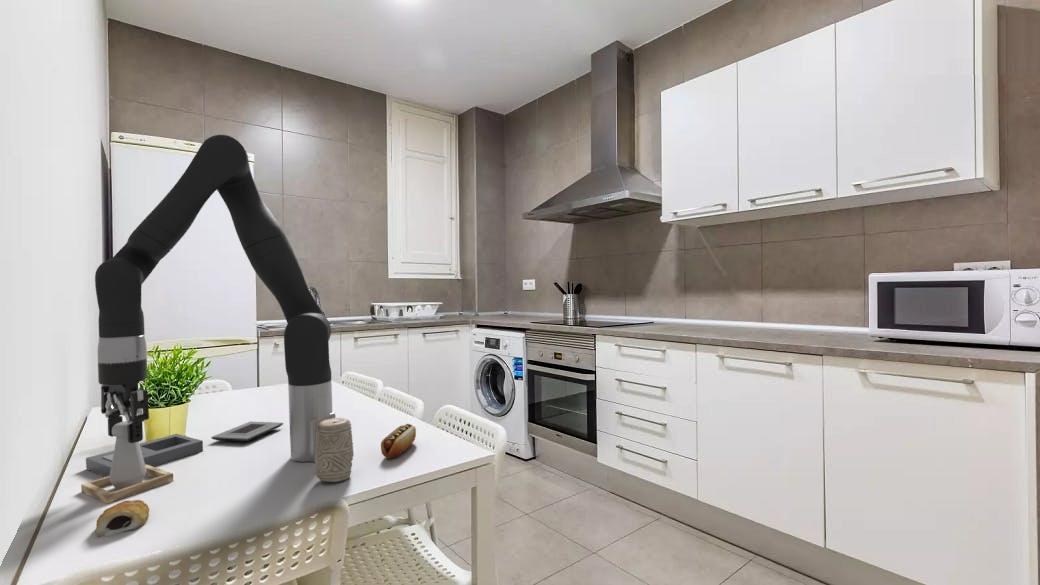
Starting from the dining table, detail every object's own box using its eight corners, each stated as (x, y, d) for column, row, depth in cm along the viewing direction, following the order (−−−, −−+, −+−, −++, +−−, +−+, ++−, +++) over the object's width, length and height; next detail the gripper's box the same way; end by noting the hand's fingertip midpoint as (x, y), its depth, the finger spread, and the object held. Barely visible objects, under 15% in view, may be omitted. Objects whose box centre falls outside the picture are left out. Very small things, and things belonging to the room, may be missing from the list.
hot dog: (420, 442, 118) (420, 422, 118) (399, 462, 105) (398, 440, 105) (401, 441, 119) (401, 421, 119) (378, 461, 106) (377, 439, 106)
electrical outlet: (247, 446, 118) (247, 437, 118) (211, 444, 121) (211, 435, 120) (283, 430, 131) (283, 421, 131) (250, 428, 133) (250, 420, 133)
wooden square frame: (173, 480, 98) (173, 473, 98) (107, 503, 88) (106, 495, 88) (146, 471, 103) (146, 464, 103) (81, 491, 93) (81, 484, 93)
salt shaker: (151, 483, 96) (148, 420, 96) (116, 495, 92) (113, 428, 91) (139, 477, 100) (137, 416, 99) (105, 488, 95) (102, 424, 94)
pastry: (106, 516, 84) (105, 495, 83) (154, 506, 87) (154, 486, 87) (93, 541, 76) (92, 517, 75) (146, 529, 79) (145, 507, 79)
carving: (360, 476, 98) (358, 419, 97) (325, 489, 92) (323, 428, 92) (344, 469, 102) (342, 414, 101) (309, 481, 96) (307, 422, 96)
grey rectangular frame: (203, 450, 115) (202, 439, 115) (111, 479, 99) (110, 466, 99) (176, 443, 121) (176, 433, 121) (86, 469, 105) (85, 457, 105)
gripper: (162, 358, 95) (164, 438, 95) (128, 353, 102) (130, 428, 102) (116, 364, 88) (118, 450, 89) (83, 358, 95) (86, 438, 96)
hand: (125, 438), depth 95 cm, fingers open, 8 cm apart
